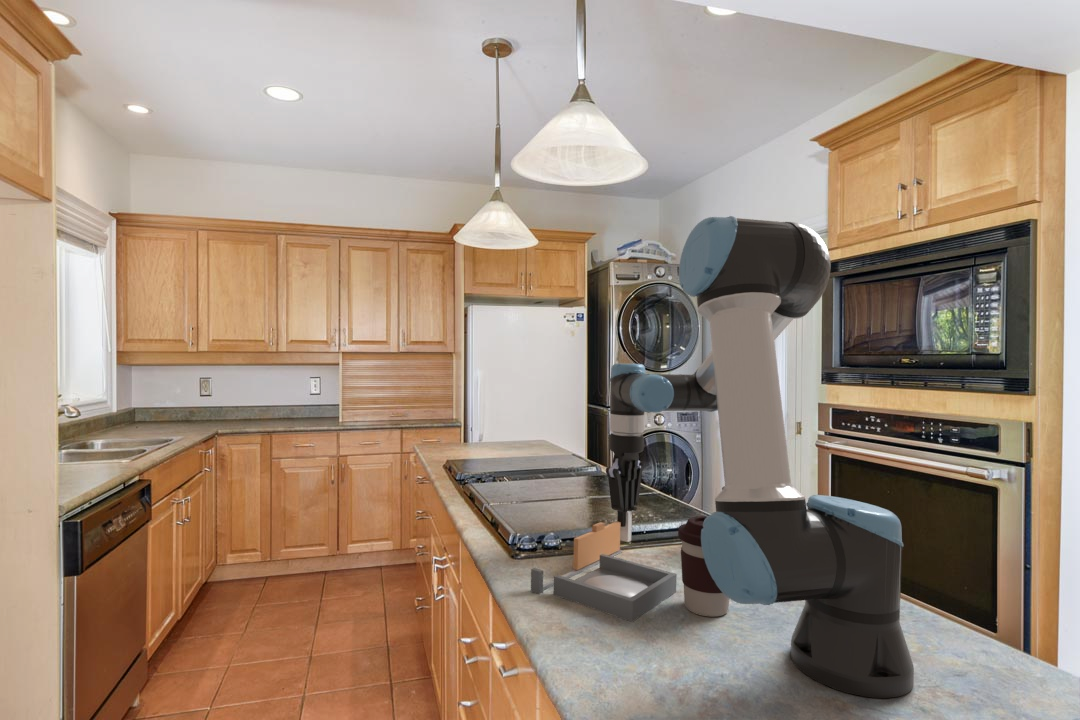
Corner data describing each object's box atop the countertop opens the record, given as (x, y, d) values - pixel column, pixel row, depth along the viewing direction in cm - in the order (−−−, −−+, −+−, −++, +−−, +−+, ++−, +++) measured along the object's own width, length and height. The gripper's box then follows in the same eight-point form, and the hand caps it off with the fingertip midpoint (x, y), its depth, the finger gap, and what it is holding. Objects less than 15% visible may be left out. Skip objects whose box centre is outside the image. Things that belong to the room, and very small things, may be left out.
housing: (702, 573, 116) (703, 553, 116) (627, 625, 93) (627, 600, 93) (616, 550, 128) (616, 532, 128) (530, 591, 105) (531, 569, 105)
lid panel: (619, 549, 127) (620, 516, 127) (577, 569, 114) (578, 533, 114) (615, 548, 127) (616, 515, 127) (573, 568, 115) (574, 532, 115)
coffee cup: (743, 605, 101) (745, 519, 101) (727, 627, 93) (730, 533, 93) (687, 592, 107) (689, 510, 106) (668, 611, 98) (670, 522, 98)
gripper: (627, 429, 136) (624, 530, 136) (595, 434, 126) (593, 543, 126) (655, 432, 131) (653, 536, 131) (626, 437, 121) (623, 551, 121)
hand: (624, 539), depth 129 cm, fingers closed
